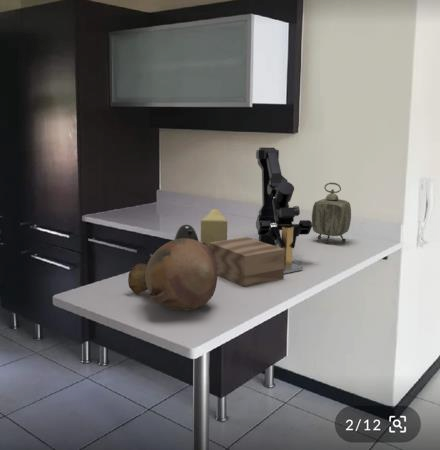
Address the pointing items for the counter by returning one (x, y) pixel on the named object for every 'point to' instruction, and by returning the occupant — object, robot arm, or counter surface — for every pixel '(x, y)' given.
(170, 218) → the counter surface
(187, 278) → the jug
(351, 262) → the counter surface
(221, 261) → the brown wooden block
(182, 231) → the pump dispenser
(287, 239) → the grey plate wooden post
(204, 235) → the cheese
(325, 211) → the tabletop clock
